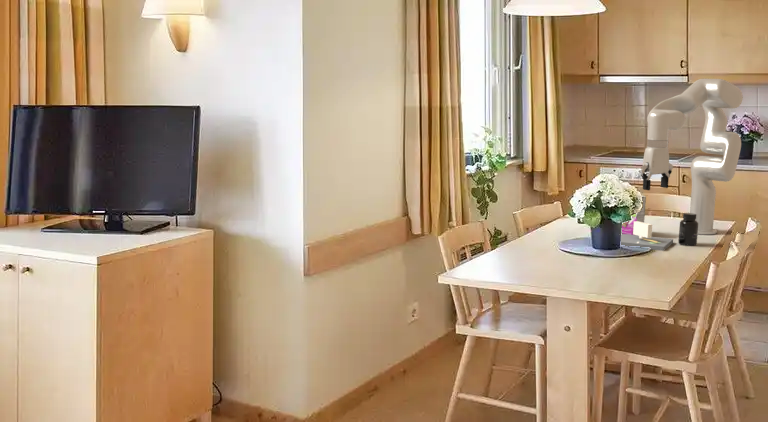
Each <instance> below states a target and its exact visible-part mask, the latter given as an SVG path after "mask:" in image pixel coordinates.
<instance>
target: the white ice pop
mask: <svg viewBox="0 0 768 422" xmlns="http://www.w3.org/2000/svg"><path fill="white" fill-rule="evenodd" d="M652 233H653V224H651V223H646V222H644V223H643V222H639V221H634V227H633V234H634V235H638V236H639V239H644V240H648V241H652V242H656V243H658V241H654V240H650V239H646V238H651V237H653V235H652ZM645 237H646V238H645Z"/></svg>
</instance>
